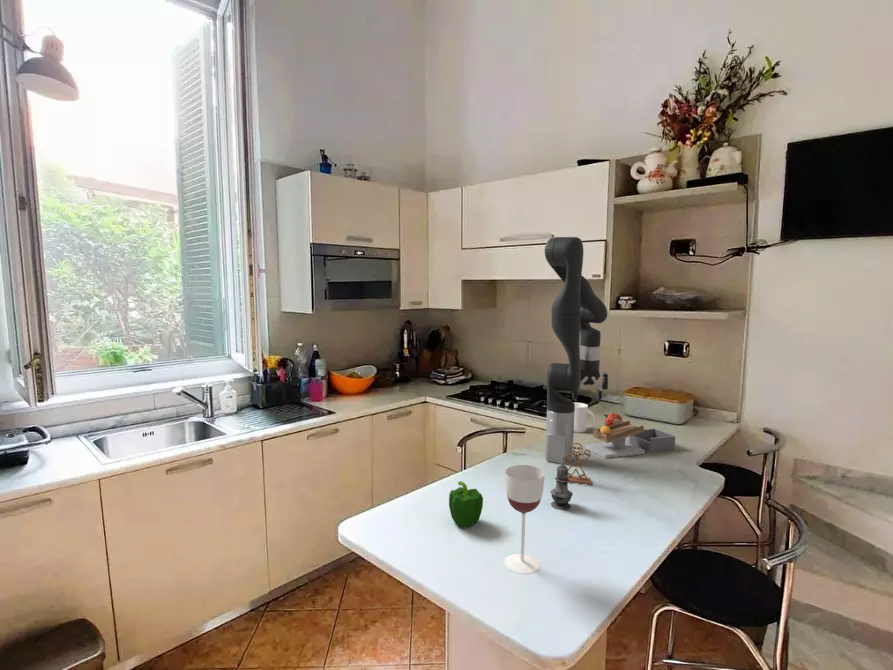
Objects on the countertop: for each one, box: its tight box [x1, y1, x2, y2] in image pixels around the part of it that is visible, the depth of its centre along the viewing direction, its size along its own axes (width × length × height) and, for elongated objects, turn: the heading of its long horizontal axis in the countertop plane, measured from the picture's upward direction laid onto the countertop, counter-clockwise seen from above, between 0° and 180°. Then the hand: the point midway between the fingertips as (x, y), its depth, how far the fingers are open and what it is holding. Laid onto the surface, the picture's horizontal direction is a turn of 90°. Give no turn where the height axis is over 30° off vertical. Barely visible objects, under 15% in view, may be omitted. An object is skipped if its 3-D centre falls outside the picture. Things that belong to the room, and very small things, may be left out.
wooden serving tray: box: [592, 419, 645, 443], centre depth 181 cm, size 15×16×2 cm
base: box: [584, 438, 646, 459], centre depth 178 cm, size 12×17×6 cm
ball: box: [599, 425, 611, 435], centre depth 176 cm, size 4×4×4 cm
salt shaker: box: [550, 463, 574, 511], centre depth 131 cm, size 6×6×12 cm
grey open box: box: [628, 428, 676, 453], centre depth 183 cm, size 11×12×5 cm
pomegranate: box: [603, 412, 623, 426], centre depth 205 cm, size 7×7×10 cm
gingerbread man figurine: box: [563, 442, 591, 486], centre depth 148 cm, size 9×4×12 cm, turn 74°
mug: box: [573, 401, 596, 434], centre depth 202 cm, size 9×12×11 cm
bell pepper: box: [448, 480, 484, 528], centre depth 121 cm, size 8×8×10 cm
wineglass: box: [503, 464, 545, 575], centre depth 103 cm, size 8×9×20 cm
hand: (586, 400), depth 181 cm, fingers open, 8 cm apart
